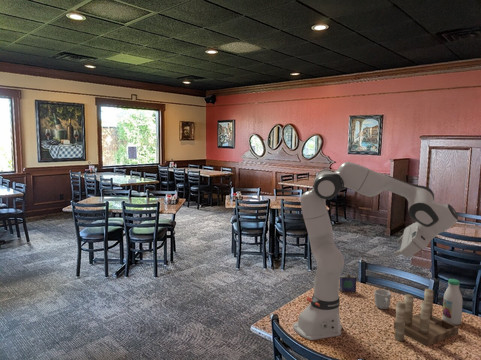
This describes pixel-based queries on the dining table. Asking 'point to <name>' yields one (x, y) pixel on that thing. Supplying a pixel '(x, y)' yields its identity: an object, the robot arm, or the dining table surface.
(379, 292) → the cup
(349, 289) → the flask
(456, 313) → the milk bottle
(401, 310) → the loose leg
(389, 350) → the dining table surface
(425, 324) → the stool
